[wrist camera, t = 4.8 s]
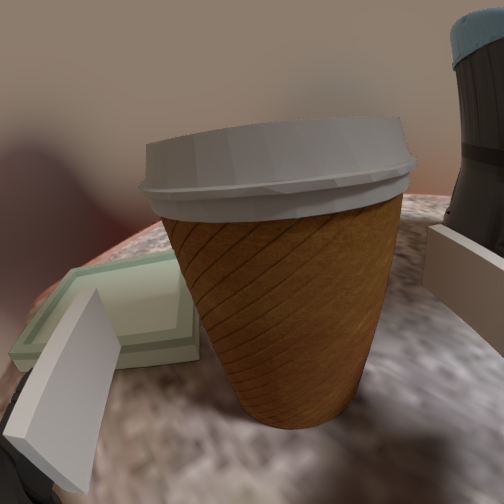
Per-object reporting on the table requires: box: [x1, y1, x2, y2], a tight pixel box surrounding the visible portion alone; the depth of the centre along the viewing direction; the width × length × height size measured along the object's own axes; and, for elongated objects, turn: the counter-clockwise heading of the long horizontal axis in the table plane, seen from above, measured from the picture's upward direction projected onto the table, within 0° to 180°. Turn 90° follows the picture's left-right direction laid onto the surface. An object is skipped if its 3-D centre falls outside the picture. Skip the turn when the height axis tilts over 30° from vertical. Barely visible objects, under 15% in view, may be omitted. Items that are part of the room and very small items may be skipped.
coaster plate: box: [8, 250, 200, 372], centre depth 22 cm, size 14×14×2 cm
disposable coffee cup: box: [139, 117, 417, 429], centre depth 12 cm, size 10×10×12 cm
